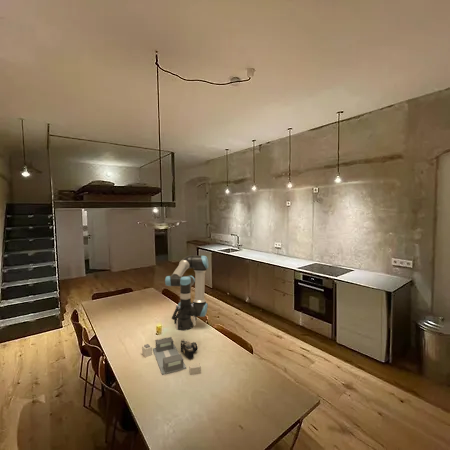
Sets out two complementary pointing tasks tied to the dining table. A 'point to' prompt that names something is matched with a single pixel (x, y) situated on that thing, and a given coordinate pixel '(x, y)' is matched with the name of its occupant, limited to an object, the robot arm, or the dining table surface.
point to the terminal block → (195, 369)
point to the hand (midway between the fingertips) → (185, 326)
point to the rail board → (168, 356)
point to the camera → (188, 348)
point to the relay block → (147, 350)
